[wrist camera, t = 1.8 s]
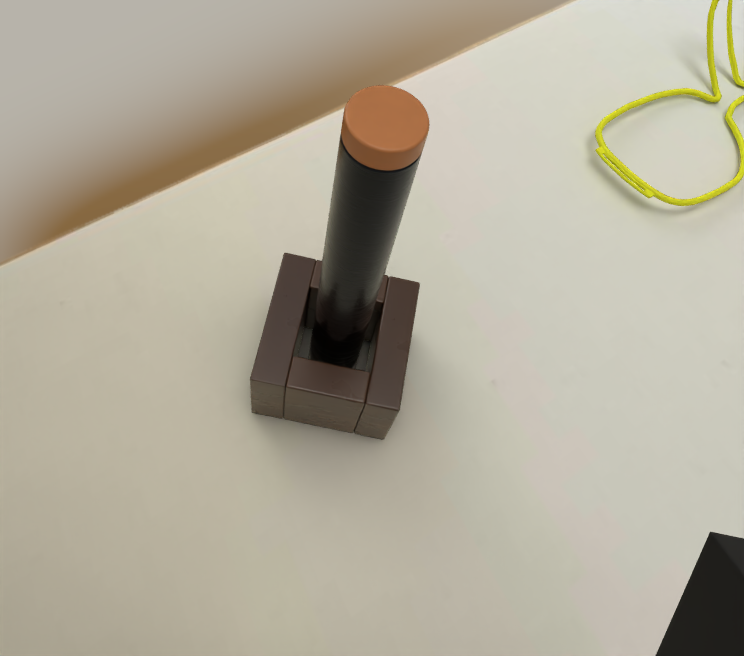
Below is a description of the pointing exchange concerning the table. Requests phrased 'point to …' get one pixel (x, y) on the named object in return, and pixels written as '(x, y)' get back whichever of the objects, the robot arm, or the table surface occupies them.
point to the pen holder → (328, 381)
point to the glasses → (614, 160)
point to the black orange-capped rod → (365, 215)
